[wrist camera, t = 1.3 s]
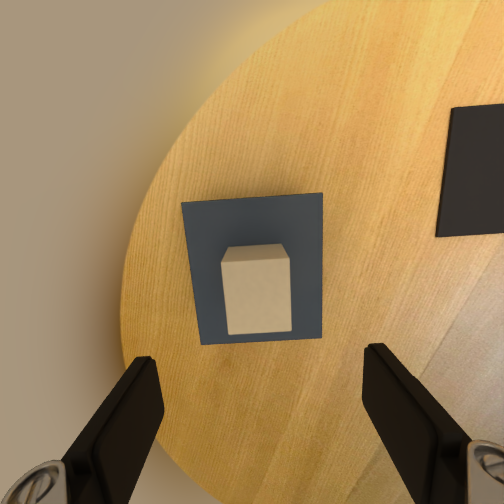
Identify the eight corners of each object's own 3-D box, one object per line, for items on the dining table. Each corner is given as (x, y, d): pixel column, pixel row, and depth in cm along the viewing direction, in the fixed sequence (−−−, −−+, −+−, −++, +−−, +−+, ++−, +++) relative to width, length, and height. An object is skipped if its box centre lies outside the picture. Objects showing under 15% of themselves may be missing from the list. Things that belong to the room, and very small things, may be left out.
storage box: (198, 200, 28) (180, 202, 21) (305, 192, 27) (322, 192, 20) (212, 312, 31) (200, 345, 24) (306, 306, 31) (322, 338, 24)
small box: (227, 246, 22) (220, 262, 17) (281, 243, 22) (289, 257, 17) (233, 305, 23) (228, 335, 18) (283, 302, 23) (291, 331, 18)
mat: (451, 108, 25) (454, 107, 25) (546, 101, 25) (551, 99, 24) (435, 236, 28) (437, 237, 28) (519, 231, 28) (522, 231, 28)
